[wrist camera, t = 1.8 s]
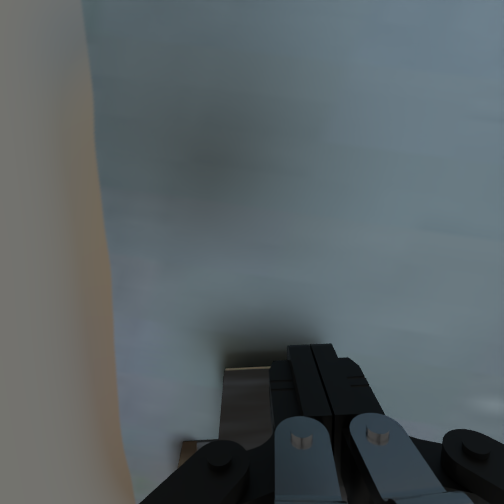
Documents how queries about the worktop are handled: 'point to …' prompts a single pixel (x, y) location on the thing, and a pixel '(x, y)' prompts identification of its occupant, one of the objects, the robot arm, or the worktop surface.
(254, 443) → the grey l-shaped piece
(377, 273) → the worktop surface
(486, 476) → the robot arm
